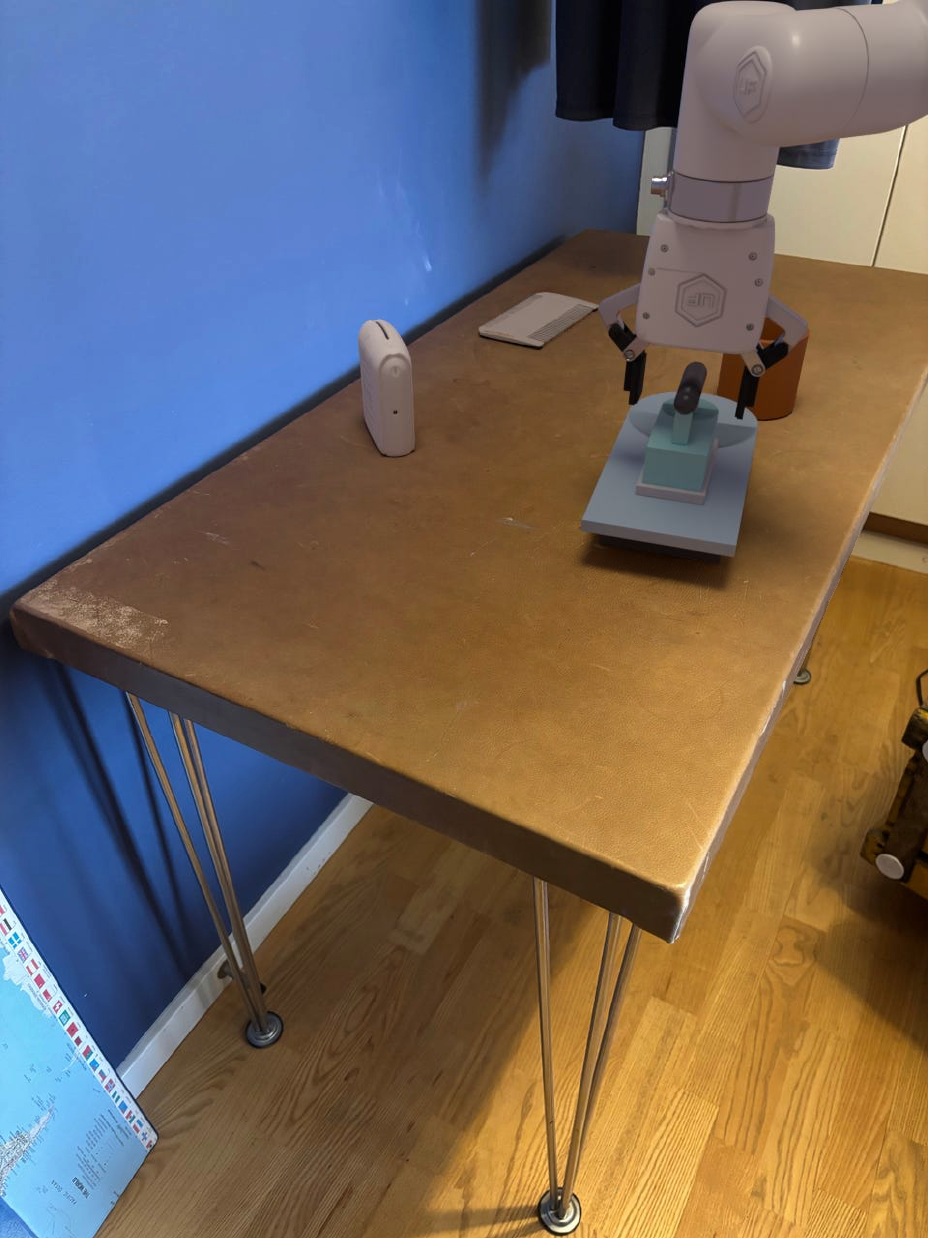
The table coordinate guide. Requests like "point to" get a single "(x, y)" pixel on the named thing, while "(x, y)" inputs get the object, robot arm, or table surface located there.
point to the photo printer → (387, 387)
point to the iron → (682, 444)
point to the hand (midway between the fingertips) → (686, 405)
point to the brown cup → (766, 376)
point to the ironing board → (671, 521)
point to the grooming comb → (537, 319)
